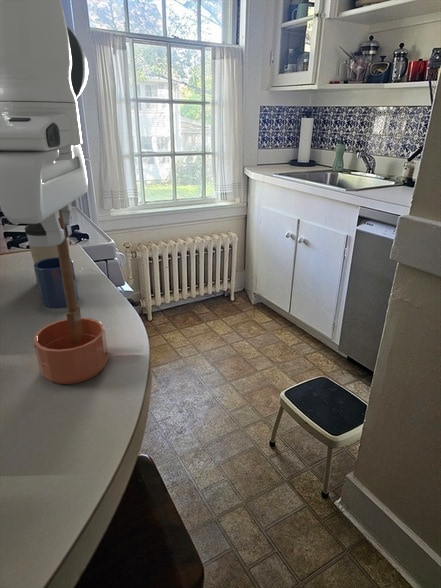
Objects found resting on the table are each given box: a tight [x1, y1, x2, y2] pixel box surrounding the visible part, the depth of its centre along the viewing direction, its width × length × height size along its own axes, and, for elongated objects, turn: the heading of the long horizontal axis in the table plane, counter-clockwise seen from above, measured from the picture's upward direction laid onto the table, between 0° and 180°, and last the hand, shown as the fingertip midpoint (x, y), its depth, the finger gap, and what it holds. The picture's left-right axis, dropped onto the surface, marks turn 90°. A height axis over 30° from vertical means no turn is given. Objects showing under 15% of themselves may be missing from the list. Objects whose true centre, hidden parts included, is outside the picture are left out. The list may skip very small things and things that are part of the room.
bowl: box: [33, 317, 109, 385], centre depth 60 cm, size 10×10×6 cm
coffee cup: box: [24, 223, 72, 265], centre depth 90 cm, size 9×9×15 cm
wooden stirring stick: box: [57, 209, 84, 344], centre depth 55 cm, size 1×3×21 cm, turn 2°
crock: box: [33, 257, 79, 310], centre depth 80 cm, size 7×7×9 cm
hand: (60, 240), depth 53 cm, fingers closed on wooden stirring stick, 1 cm apart
